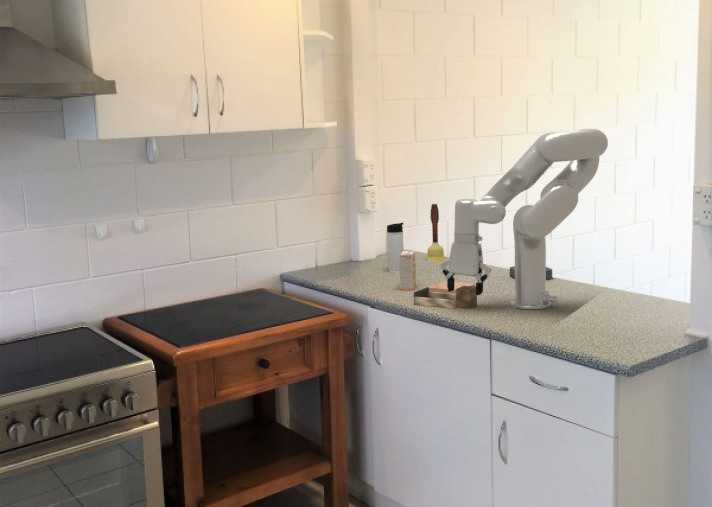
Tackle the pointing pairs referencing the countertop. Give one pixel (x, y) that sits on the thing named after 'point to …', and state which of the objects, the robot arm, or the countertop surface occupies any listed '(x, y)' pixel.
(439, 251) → the handbell
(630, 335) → the countertop surface
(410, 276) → the supplement box
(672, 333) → the countertop surface
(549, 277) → the streaming box
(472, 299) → the walnut block
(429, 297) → the birch chute
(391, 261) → the travel mug
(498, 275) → the countertop surface
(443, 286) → the terracotta tile
